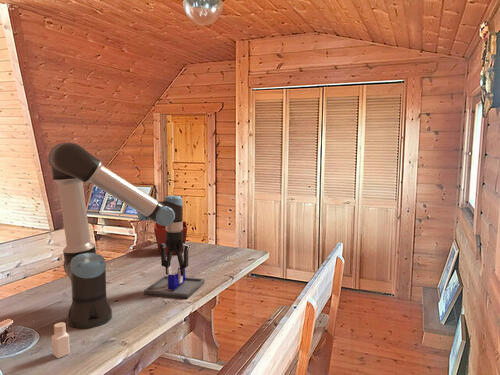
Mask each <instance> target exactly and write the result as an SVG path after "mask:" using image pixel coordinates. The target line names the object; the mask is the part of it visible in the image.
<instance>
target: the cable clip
mask: <svg viewBox="0 0 500 375" xmlns="http://www.w3.org/2000/svg"><path fill="white" fill-rule="evenodd" d="M179 268H180V267H178V268H177V270H178V269H179ZM167 276H168V289H174V290H175V289H176V288H177V287H178V286H180V285H181V284H182V283H183V282H184V281H185V277H186V268H184V275H183V282H182V283H180V284H179V276H178V272H177V273H175V274H172V275H167Z"/></svg>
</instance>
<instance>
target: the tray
mask: <svg viewBox="0 0 500 375" xmlns="http://www.w3.org/2000/svg"><path fill="white" fill-rule="evenodd" d="M204 284H205V278H197V277H196V278H195V277H186V276H185V281H184V282H183V283H182V284H181V285H180V286H178V287H177V288H176V289H175V290H174V289H168V275H164V276H162V277H160V278H159V279H158V280H157V281H155V282H154V283H152V284H151V285H150V286H148V287H147V288H145V289H144V290H143V294H144V296H152V297H153V296H154V297H162V298H163V297H164V298H173V299H175V298H176V299H185V300H188V299H189V298H191V296H193V295H194V294H195V293H196V292H197V291H198V290H199V289H201V287H202V286H203V285H204Z"/></svg>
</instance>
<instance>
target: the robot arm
mask: <svg viewBox="0 0 500 375" xmlns="http://www.w3.org/2000/svg"><path fill="white" fill-rule="evenodd" d="M47 158H48V163H49V166H50V169H51V175H52V181H53V182H55V183H56V184H57V186H58V192H59V193H58V194H59V200H60V207H61V214H62V221H63V222H62V223H63V228H64V234H65V241H66V242H65V244H66V245H65V247H64V248H63V250H62V252H63V270H64V273H65V274H66V275H67V277H68V278H69V280H70V282H71V304H70V307H69V311H68V314H67V324H68V326H69V327H72V328H75V329H76V328H77V329H89V328H94V327H98V326H102V325H103V324H106V323H107V322H109V321H111V319H112V318H113V309H112V308H111V305H110V302H109V299H108V297H107V275H106V272H107V271H106V267H107V263H106V260H105V257H104V256H103V255H101V254H100V253H97V249H96V244H95V243H94V242H92V241H91V236H90V227H89V222H88V221H89V220H88V213H87V206H86V205H87V204H86V198H85V197H86V195H85V191H84V183H85V184H86V183H90V184H91V185H93V186H95V187H97V188H98V189H100V190H101V191H103V192H105V193H107V194H108V195H110V196H112V197H113V198H115V199H117V200H118V201H120V202H122V203H123V204H124V205H127V206H128V207H130V208H132V209H133V210H135V211H136V215H137V218H138V220H139V221H146V222H147V221H151V222H153V223H158V224H159V225H163V226H166V242H165V243H162V244H160V248H161V254H160V257H161V258H160V260H161V262H160V264H161V267H164V268H165V276H168V275H173V272H172V268H173V267H172V266H171V262H172V257H173V254H172V253H173V251H174V252H176V254H175V255H176V257H177V261H178V265H179V267H178V268H179V269H178V268H177V273H178V276H179V284H180V283H182V282H183V275H184V268H185V269H186V268H187V267H189V249H190V245H189V244H186V243H185V244H184V242H183V231H182V230H183V222H184V221H183V217H184V215H183V208H184V205H183V198H182V196H180V195H176V194H175V195H166V196H165V197H164V200H162V201H158V200H157V198H156V199H155V198H154V197H153V196H151V195H149V194H148V193H147V192H145V191H143V190H142V189H140V188H139V187H137V186H135V184H133V183H131V182H129V181H127V180H126V179H124V178H123V177H122V176H119V174H117V173H115V172H113V171H112V170H110V169H109V168H107V167H106V166H104V165H103V164H102V161H101V160H100V159H99V158H97V157H95V156H94V155H93V154H92V153H91V152H89V151H88V150H87V149H86V148H84V147H83V146H82V145H81V144H78V143H75V142H61V143H58V144H56V145H55V146H53V148H51V150H50V151H49V153H48V157H47ZM166 246H167V248H168V255H166ZM182 247H183V249H184V250H183V253H182V250H181V248H182Z"/></svg>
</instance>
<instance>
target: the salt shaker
mask: <svg viewBox="0 0 500 375" xmlns="http://www.w3.org/2000/svg"><path fill="white" fill-rule="evenodd" d="M66 325H67V324H66V323H65V322H57V323H55V324H54V325H53V331H54V334H52V336H51V348H52V349H51V350H52V355H53V356H54V357H55V358H57V359H60V358H62V357H65V356H69V355H70V353H71V349H70V348H71V347H70V346H71V345H70V334H69V333H67V331H66V330H67V328H66V327H67V326H66Z"/></svg>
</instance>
